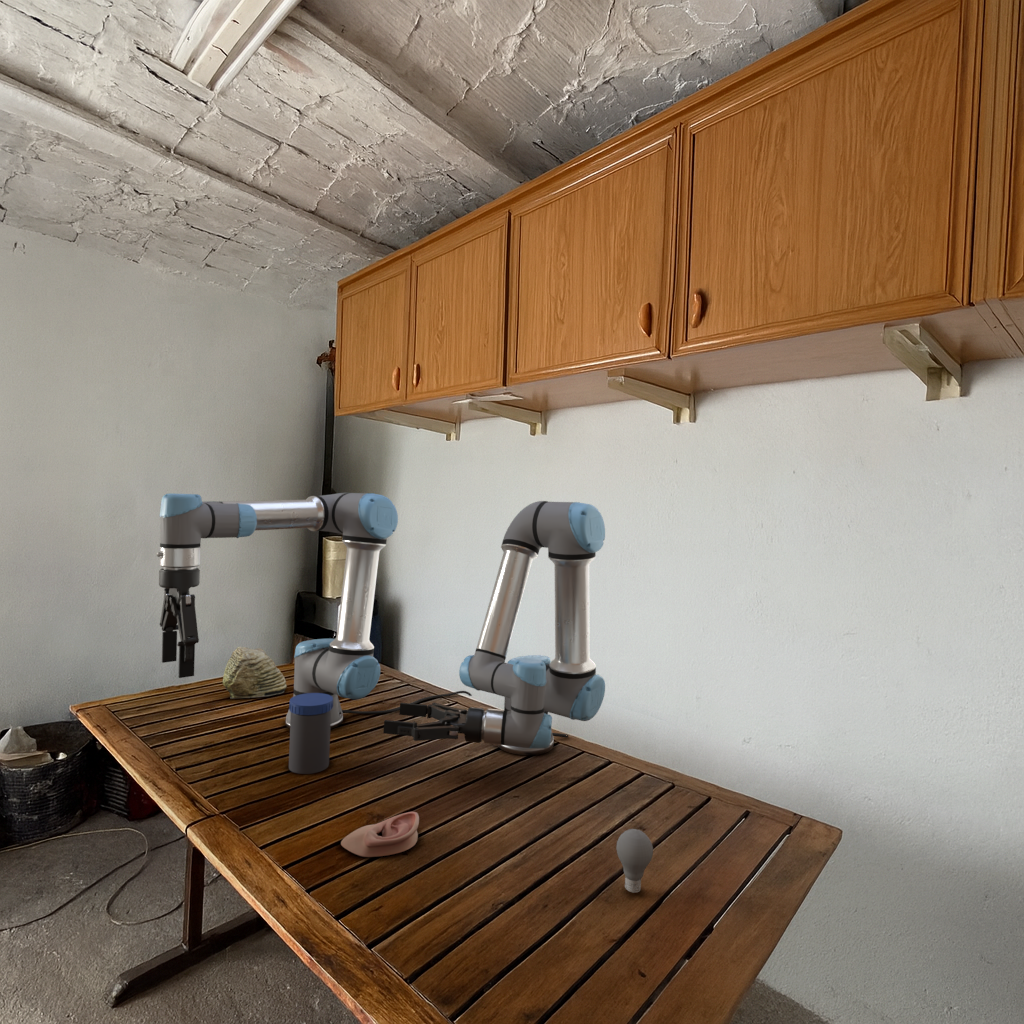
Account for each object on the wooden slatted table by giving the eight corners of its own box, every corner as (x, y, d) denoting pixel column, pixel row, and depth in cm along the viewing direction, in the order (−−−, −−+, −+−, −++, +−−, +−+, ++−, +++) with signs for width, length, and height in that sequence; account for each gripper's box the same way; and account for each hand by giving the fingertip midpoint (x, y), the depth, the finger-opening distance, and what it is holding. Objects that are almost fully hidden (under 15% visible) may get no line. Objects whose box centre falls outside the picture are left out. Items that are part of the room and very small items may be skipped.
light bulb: (610, 879, 108) (613, 822, 108) (644, 879, 109) (647, 822, 109) (619, 902, 102) (622, 840, 102) (655, 901, 103) (658, 840, 103)
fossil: (218, 695, 195) (220, 647, 195) (278, 685, 208) (279, 640, 207) (228, 703, 189) (230, 653, 188) (289, 692, 201) (290, 645, 201)
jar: (294, 757, 153) (297, 694, 153) (332, 758, 153) (335, 695, 153) (283, 773, 144) (286, 706, 144) (323, 774, 144) (326, 707, 144)
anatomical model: (333, 830, 113) (361, 800, 124) (332, 852, 113) (360, 820, 124) (403, 841, 110) (425, 810, 122) (402, 863, 110) (424, 830, 122)
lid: (295, 701, 153) (296, 692, 153) (336, 702, 154) (337, 693, 154) (283, 714, 143) (284, 705, 143) (327, 715, 144) (327, 706, 144)
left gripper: (145, 562, 139) (143, 658, 139) (175, 575, 120) (172, 686, 120) (183, 560, 144) (181, 653, 144) (217, 573, 125) (214, 680, 125)
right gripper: (475, 762, 132) (375, 753, 133) (488, 725, 157) (404, 717, 158) (477, 726, 132) (377, 717, 134) (491, 694, 157) (406, 687, 158)
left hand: (177, 669), depth 132 cm, fingers open, 13 cm apart
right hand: (392, 717), depth 146 cm, fingers open, 13 cm apart
